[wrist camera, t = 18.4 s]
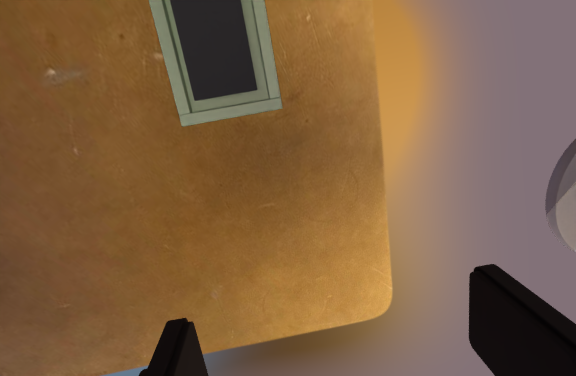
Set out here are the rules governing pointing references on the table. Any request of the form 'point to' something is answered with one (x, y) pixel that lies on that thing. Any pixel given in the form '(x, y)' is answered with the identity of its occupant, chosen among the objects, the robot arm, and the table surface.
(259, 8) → the pad frame
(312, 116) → the table surface
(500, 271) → the robot arm
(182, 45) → the loose pad
